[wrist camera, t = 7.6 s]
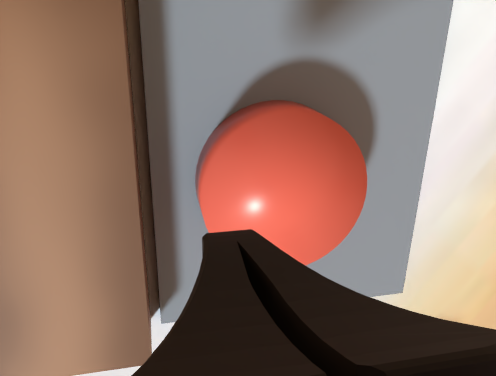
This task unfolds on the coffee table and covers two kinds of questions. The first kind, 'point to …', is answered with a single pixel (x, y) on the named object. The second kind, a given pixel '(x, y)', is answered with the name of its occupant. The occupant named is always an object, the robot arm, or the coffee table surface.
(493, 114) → the coffee table surface
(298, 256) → the red ball
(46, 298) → the board
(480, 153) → the coffee table surface
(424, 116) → the mat
